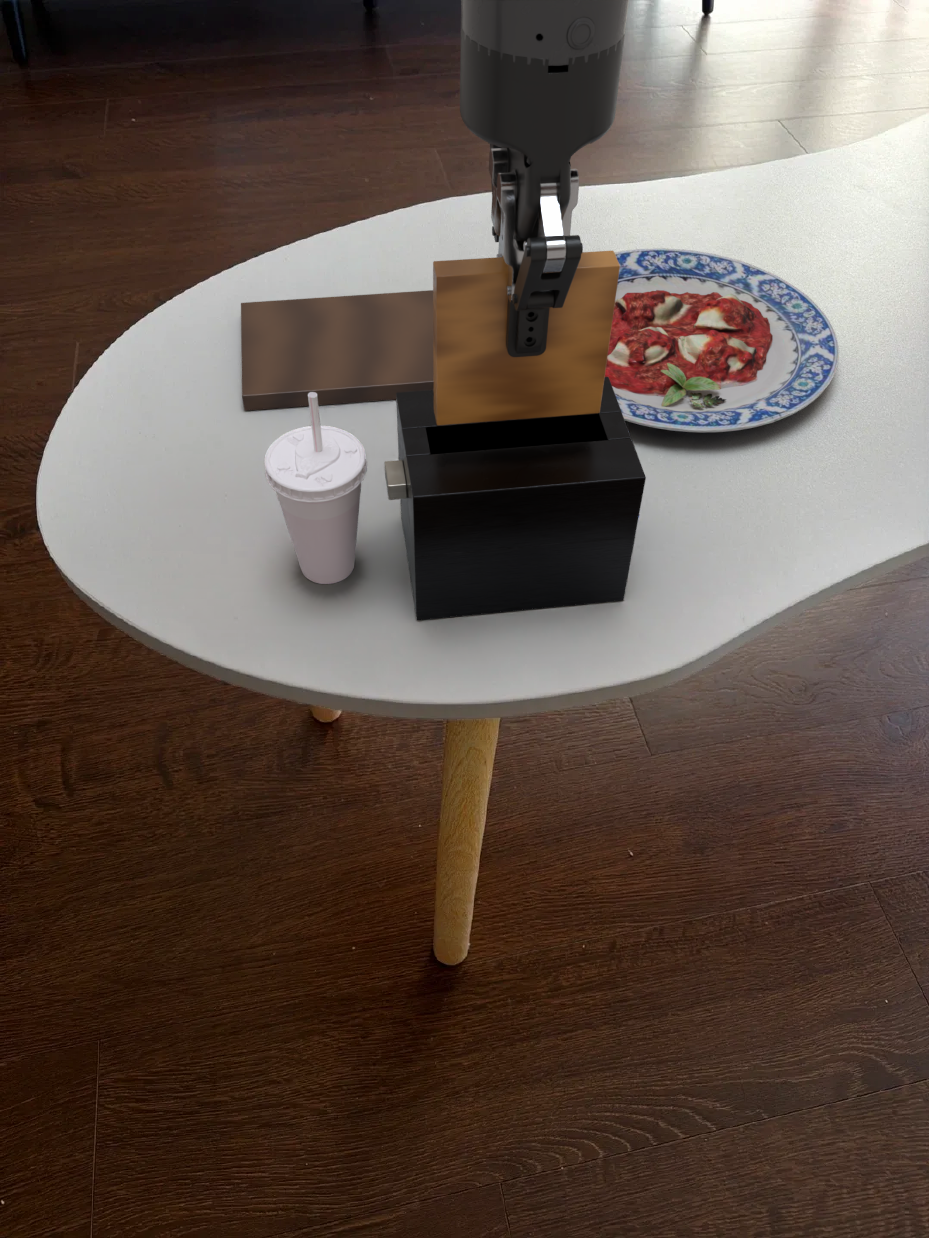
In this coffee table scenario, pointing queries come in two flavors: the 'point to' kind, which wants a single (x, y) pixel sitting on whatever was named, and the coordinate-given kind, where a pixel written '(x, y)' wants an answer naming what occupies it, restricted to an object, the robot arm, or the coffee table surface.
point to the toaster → (515, 508)
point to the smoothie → (319, 494)
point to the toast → (478, 358)
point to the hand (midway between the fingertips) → (522, 340)
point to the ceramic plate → (713, 343)
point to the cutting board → (336, 349)
